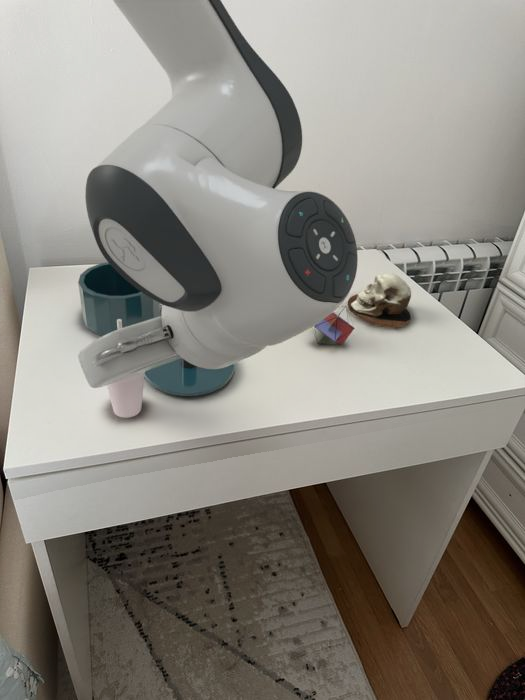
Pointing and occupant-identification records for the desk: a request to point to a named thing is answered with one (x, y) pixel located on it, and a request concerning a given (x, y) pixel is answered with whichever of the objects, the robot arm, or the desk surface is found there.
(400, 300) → the skull
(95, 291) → the pot
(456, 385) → the desk surface
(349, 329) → the geometric puzzle
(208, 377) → the lid
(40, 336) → the desk surface
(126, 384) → the smoothie
